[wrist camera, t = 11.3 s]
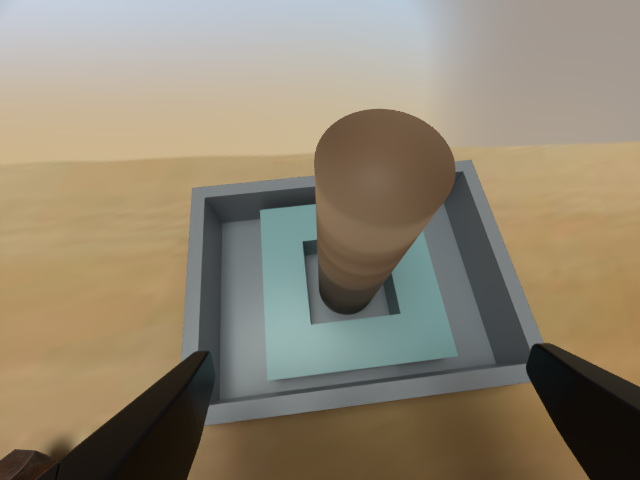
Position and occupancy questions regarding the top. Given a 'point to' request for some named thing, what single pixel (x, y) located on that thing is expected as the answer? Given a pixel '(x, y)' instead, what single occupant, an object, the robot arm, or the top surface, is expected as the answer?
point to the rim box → (347, 330)
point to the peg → (374, 199)
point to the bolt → (25, 465)
